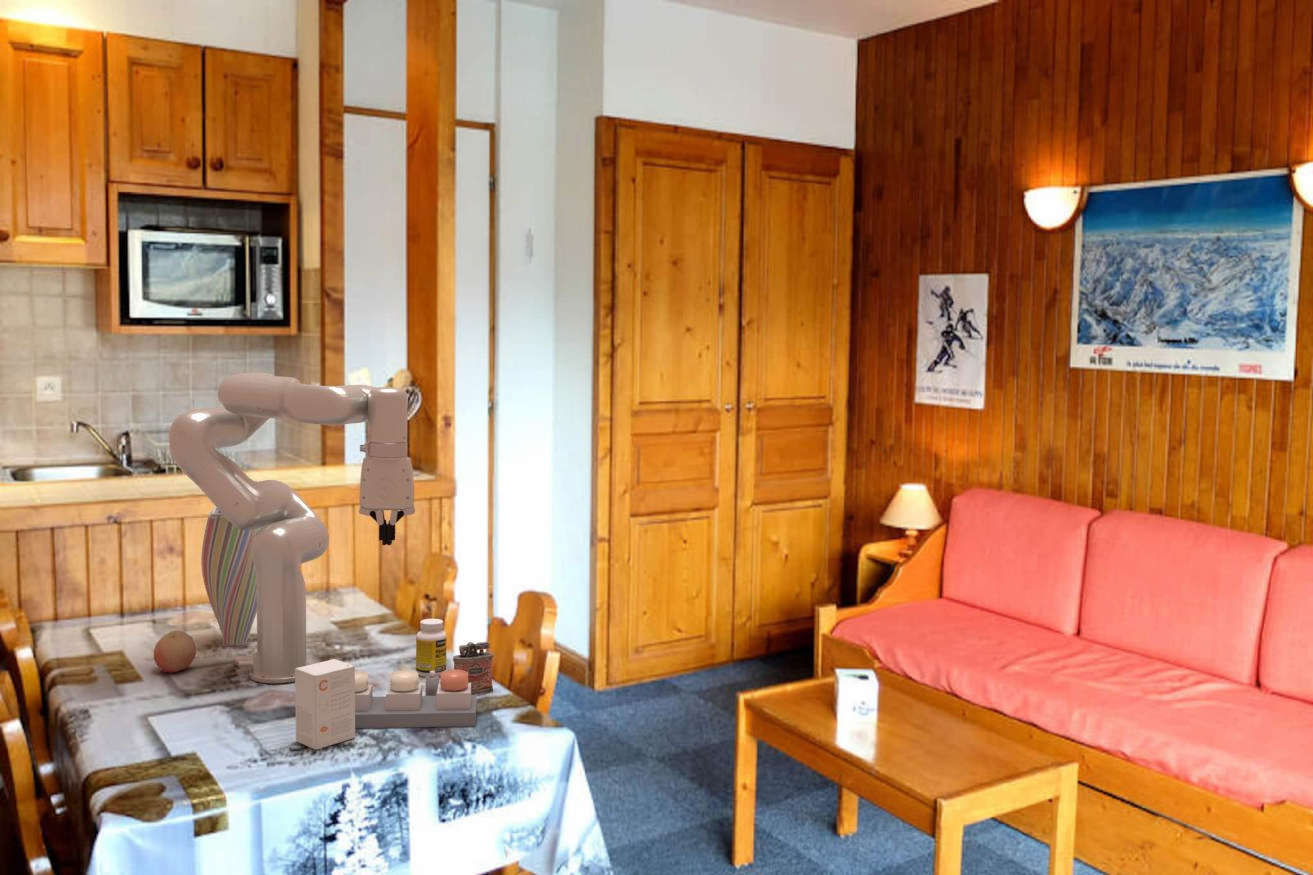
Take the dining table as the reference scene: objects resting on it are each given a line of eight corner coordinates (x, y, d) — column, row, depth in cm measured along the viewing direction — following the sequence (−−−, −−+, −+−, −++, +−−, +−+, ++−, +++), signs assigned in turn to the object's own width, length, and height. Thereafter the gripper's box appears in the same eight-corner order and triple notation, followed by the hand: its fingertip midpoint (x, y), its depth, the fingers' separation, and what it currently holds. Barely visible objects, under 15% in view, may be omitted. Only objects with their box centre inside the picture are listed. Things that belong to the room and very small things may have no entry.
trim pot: (424, 705, 217) (425, 673, 216) (425, 700, 219) (426, 669, 219) (438, 704, 217) (439, 673, 217) (439, 700, 220) (439, 669, 219)
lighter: (455, 697, 222) (456, 647, 221) (450, 692, 225) (451, 642, 224) (495, 692, 226) (495, 642, 225) (489, 687, 228) (490, 638, 228)
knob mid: (388, 707, 206) (389, 678, 206) (391, 698, 211) (391, 670, 211) (417, 707, 207) (417, 678, 206) (419, 698, 212) (419, 669, 211)
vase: (267, 633, 264) (266, 505, 262) (266, 648, 252) (265, 514, 249) (204, 636, 260) (202, 506, 257) (200, 652, 247) (199, 516, 244)
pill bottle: (439, 678, 233) (439, 626, 232) (411, 676, 234) (411, 623, 233) (450, 670, 239) (451, 618, 238) (423, 667, 240) (423, 616, 239)
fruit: (147, 670, 234) (146, 632, 233) (185, 662, 240) (185, 625, 239) (164, 679, 229) (163, 640, 228) (203, 671, 234) (202, 633, 234)
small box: (334, 729, 203) (334, 657, 201) (356, 738, 198) (356, 665, 197) (294, 741, 196) (294, 667, 195) (315, 750, 192) (315, 675, 191)
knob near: (337, 708, 205) (337, 679, 205) (341, 699, 210) (341, 670, 210) (366, 708, 206) (366, 678, 205) (369, 699, 211) (369, 670, 210)
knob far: (439, 706, 207) (439, 677, 207) (441, 697, 212) (441, 669, 212) (467, 706, 208) (467, 677, 208) (468, 697, 213) (468, 669, 212)
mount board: (327, 728, 203) (327, 698, 202) (335, 710, 213) (335, 681, 212) (475, 726, 206) (475, 696, 206) (476, 707, 216) (476, 679, 215)
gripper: (345, 452, 217) (345, 547, 219) (425, 453, 219) (424, 547, 221) (350, 448, 224) (350, 540, 226) (428, 449, 226) (427, 540, 228)
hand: (387, 543), depth 223 cm, fingers closed
